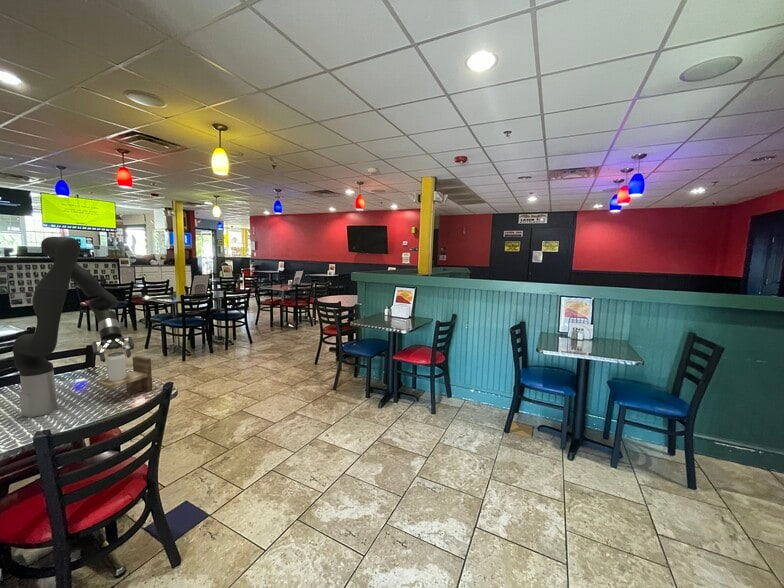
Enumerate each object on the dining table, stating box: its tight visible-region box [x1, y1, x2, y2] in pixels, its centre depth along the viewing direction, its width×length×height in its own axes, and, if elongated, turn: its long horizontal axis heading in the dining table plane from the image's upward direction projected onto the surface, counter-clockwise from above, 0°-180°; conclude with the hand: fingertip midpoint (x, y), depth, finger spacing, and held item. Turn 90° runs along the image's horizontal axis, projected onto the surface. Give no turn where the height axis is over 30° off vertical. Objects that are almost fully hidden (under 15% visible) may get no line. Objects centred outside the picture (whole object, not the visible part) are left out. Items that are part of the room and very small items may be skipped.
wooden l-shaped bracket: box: [96, 355, 154, 396], centre depth 148 cm, size 17×10×16 cm, turn 161°
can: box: [106, 351, 128, 382], centre depth 145 cm, size 6×6×12 cm
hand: (116, 359), depth 144 cm, fingers open, 8 cm apart
